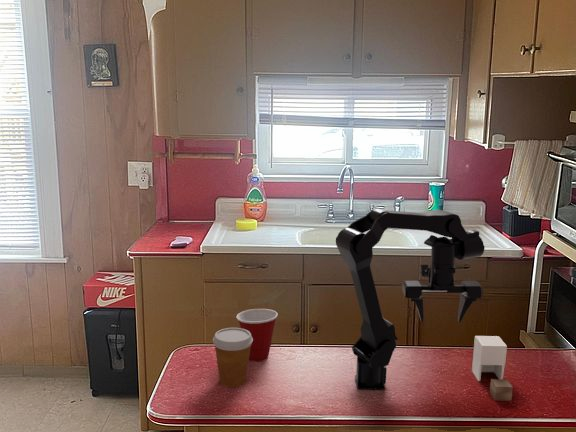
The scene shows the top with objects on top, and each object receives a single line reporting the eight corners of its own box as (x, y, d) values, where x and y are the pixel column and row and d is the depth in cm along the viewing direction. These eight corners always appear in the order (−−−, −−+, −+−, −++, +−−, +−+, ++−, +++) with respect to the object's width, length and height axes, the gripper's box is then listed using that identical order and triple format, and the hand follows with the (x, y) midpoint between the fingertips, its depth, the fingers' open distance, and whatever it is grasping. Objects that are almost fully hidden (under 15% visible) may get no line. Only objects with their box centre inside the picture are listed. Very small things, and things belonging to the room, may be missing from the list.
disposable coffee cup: (204, 381, 150) (204, 334, 147) (234, 368, 157) (234, 323, 154) (231, 394, 144) (231, 346, 141) (260, 381, 150) (261, 334, 148)
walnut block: (494, 400, 143) (496, 386, 143) (489, 392, 147) (491, 379, 146) (511, 401, 143) (512, 387, 143) (505, 393, 147) (507, 379, 146)
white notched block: (478, 381, 152) (482, 345, 150) (471, 370, 158) (474, 335, 156) (503, 382, 152) (507, 346, 150) (495, 371, 158) (498, 336, 156)
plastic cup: (255, 344, 171) (255, 303, 169) (285, 355, 165) (286, 313, 162) (227, 357, 163) (227, 314, 161) (258, 369, 156) (258, 324, 154)
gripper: (473, 252, 159) (470, 310, 163) (399, 253, 160) (398, 310, 163) (485, 265, 148) (481, 326, 152) (406, 265, 149) (404, 326, 152)
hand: (440, 321), depth 155 cm, fingers open, 9 cm apart
